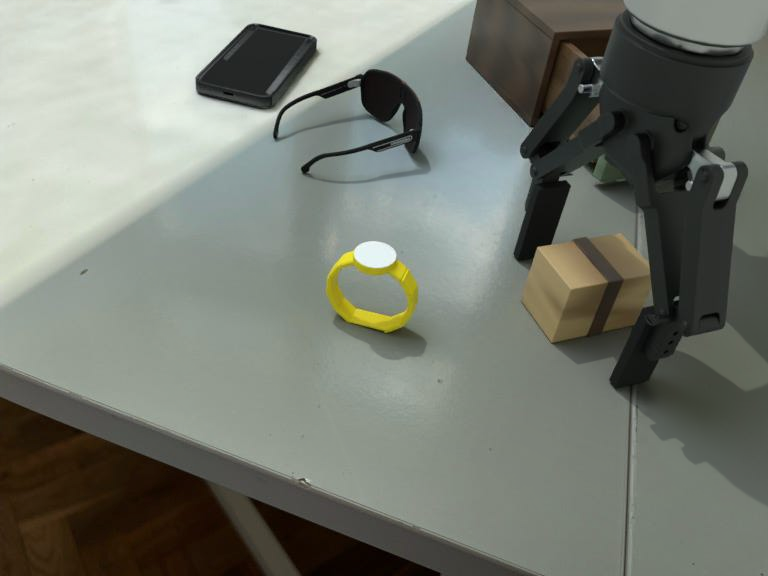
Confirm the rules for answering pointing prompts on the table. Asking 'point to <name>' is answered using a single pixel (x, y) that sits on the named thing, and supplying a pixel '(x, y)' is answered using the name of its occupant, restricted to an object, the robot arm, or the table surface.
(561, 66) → the drawer
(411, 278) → the watch
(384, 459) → the table surface
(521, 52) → the cabinet
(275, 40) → the phone
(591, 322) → the box
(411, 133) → the sunglasses
